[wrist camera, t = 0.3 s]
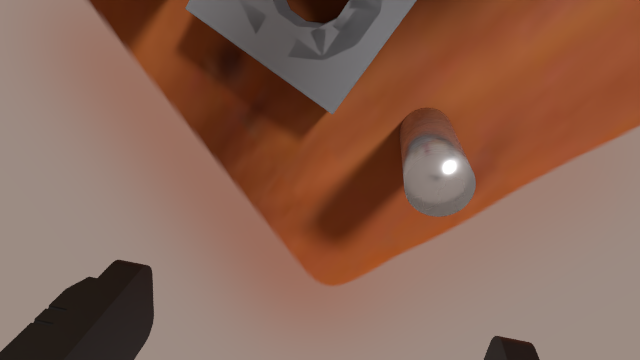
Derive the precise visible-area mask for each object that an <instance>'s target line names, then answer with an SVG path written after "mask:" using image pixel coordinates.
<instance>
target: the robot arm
mask: <svg viewBox="0 0 640 360" xmlns="http://www.w3.org/2000/svg"><path fill="white" fill-rule="evenodd" d="M153 319H154V307H153V280H152V270H151V268H150V266H148V265H143V264H138V263H133V262H128V261H122V260H116V261H114V262H113V263H112V264H111V265H110V266H109V267H108V268H107V269H106V270H105V271H104V272H103V273H102V274H101V275H100V276H99V277H98V278H93V277H88V278H86V279H84V280H82V281H80V282H78V283H76V284H75V285H73V286H71V287H69V288H67V289H66V290H65V291H63V292H62V294H60V295H59V296H58V297H57V298H56V299H55V300H54V301H53V302H52V303H51V304H50V305H49V308H48V309H45V310H44V311H43V312H42V313H41V314H40V315H39V316H37V317H36V318H35V321H34V323H30V324H29V325H28V326H27V327H26V328H25V329H24V330H23V331H22V332H21V333H20V334H19V335H18V336H17V337H16V338H15V339H13V341H11V342H10V343H9V344H8V345H7V346H6V347H5V348H4V349H3V350H2V351H1V352H0V360H134V359H135V357H136V355H137V354H138V353H139V351H140V350H141V348H142V347H143V345H144V344H145V342H146V340H147V339H148V336H149V334H150V331H151V328H152V324H153ZM484 360H539V357H538V355H537V352H536V349H535V347H534V346H533V344H532V343H529V342H525V341H520V340H515V339H510V338H505V337H500V336H495V337H493V339H492V340H491V342H490V345H489V347H488V350H487V353H486V355H485V358H484Z"/></svg>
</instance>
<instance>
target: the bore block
mask: <svg viewBox="0 0 640 360" xmlns="http://www.w3.org/2000/svg"><path fill="white" fill-rule="evenodd" d="M415 2H416V0H349V2H348V3H347V5H346V6H345V7H344V9H343V10H342V12H341V13H340V15H339V16H338V17H337V18H334V19H332V20H330V21H328V22H326V23H319V22H309V21H305V20H304V19H303V18H301V17H300V16H299V15H297V14H296V13H294V12H293V11H292V10H291V9H290V7H289V5H288V3H287V1H286V0H189V2H188V4H187V6H186V8H185V9H186V10H188V11H189V12H190V13H192V14H193V15H195V16H196V17H197V18H199V19H200V20H202V21H203V22H204V23H206V24H207V25H209V26H210V27H211V28H213V29H214V30H216V31H217V32H218V33H220V34H221V35H223V36H224V37H225V38H227V39H228V40H229V41H231V42H232V43H234V44H235V45H236V46H238V47H239V48H241V49H242V50H243V51H245V52H246V53H248V54H249V55H250V56H252V57H253V58H255V59H256V60H257V61H259V62H260V63H261V64H263V65H264V66H266V67H267V68H268V69H270V70H271V71H273V72H274V73H275V74H277V75H278V76H280V77H281V78H282V79H284V80H285V81H287V82H288V83H289V84H291V85H292V86H294V87H295V88H296V89H298V90H299V91H300V92H302V93H303V94H305V95H306V96H307V97H309V98H310V99H312V100H313V101H314V102H316V103H317V104H319V105H320V106H321V107H323V108H324V109H326V110H327V111H328V112H330V113H331V114H332V115H333V113H334V112H335V110H336V109H337V108H338V106H339V105H340V104H341V102H342V101H343V100H344V98H345V97H346V96H347V94H348V93H349V91H350V90H351V89H352V87H353V86H354V85H355V83H356V82H357V81H358V79H359V78H360V76H361V75H362V74H363V72H364V71H365V70H366V68H367V67H368V66H369V64H370V63H371V62H372V60H373V59H374V57H375V56H376V55H377V53H378V52H379V51H380V49H381V48H382V47H383V45H384V44H385V43H386V41H387V40H388V38H389V37H390V36H391V34H392V33H393V32H394V30H395V29H396V28H397V26H398V25H399V24H400V22H401V21H402V19H403V18H404V17H405V15H406V14H407V13H408V11H409V10H410V9H411V7H412V6H413V4H414V3H415Z"/></svg>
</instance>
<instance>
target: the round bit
mask: <svg viewBox="0 0 640 360" xmlns="http://www.w3.org/2000/svg"><path fill="white" fill-rule="evenodd" d="M400 145H401V156H402V167H403V178H404V189H405V194H406V197H407V199H408V201H409V202H410V204H411V205H412V206H413V207H414V208H415V209H416V210H418V211H419V212H421V213H423V214H426V215H430V216H437V217H439V216H447V215H451V214H454V213H456V212H458V211H460V210H461V209H463V208H464V207H465V206H466V205H467V204H468V203H469V201H470V200H471V198H472V196H473V194H474V191H475V186H476V181H475V176H474V173H473V171H472V169H471V167H470V164H469V162H468V160H467V158H466V156H465V153H464V151H463V149H462V147H461V145H460V142H459V140H458V138H457V136H456V134H455V132H454V129H453V127H452V125H451V123H450V121H449V119H448V117H447V116H446V115H445V114H444V113H442V112H441V111H439V110H436V109H433V108H421V109H418V110H415V111H413V112H412V113H410V114H409V115H408V116H407V117H406V118H405V119H404V121H403V122H402V125H401V127H400Z"/></svg>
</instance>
